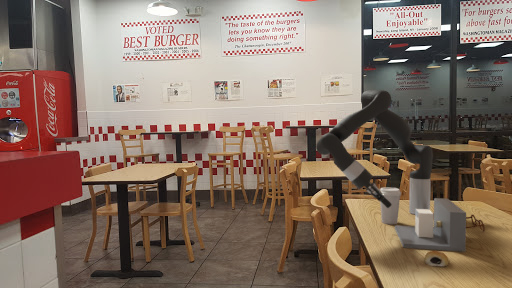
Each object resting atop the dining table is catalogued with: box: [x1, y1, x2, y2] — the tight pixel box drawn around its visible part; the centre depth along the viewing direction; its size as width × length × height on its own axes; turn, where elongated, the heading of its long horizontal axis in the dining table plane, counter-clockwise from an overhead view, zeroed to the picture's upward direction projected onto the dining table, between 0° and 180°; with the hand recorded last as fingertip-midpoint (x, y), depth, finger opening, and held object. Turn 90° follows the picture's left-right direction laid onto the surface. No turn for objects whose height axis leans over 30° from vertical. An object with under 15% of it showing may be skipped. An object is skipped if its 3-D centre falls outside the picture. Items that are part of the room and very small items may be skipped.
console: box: [394, 197, 467, 252], centre depth 142 cm, size 24×20×14 cm
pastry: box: [424, 250, 449, 268], centre depth 120 cm, size 9×7×4 cm
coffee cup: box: [379, 187, 402, 225], centre depth 166 cm, size 10×10×15 cm
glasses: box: [466, 214, 486, 232], centre depth 157 cm, size 13×13×5 cm
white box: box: [414, 209, 434, 238], centre depth 142 cm, size 7×5×9 cm
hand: (389, 206), depth 144 cm, fingers closed
